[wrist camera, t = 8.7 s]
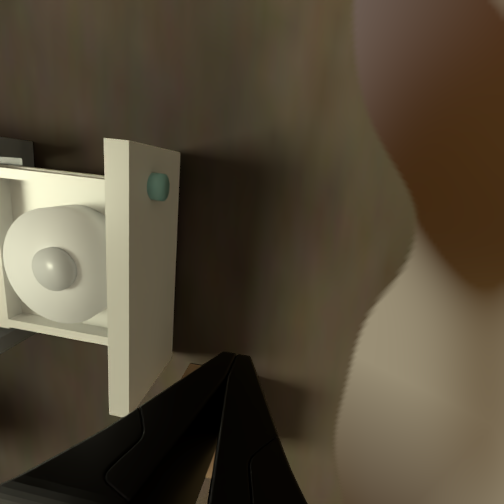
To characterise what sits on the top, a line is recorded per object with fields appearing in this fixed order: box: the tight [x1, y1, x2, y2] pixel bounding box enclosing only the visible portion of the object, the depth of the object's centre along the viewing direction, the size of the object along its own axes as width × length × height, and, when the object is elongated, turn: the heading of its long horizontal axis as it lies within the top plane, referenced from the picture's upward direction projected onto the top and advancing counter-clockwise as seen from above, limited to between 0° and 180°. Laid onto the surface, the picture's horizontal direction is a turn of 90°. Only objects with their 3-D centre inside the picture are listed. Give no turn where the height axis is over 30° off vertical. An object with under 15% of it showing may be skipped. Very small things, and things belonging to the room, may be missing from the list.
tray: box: [0, 138, 181, 417], centre depth 16 cm, size 12×13×5 cm
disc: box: [3, 205, 107, 324], centre depth 16 cm, size 6×6×2 cm
